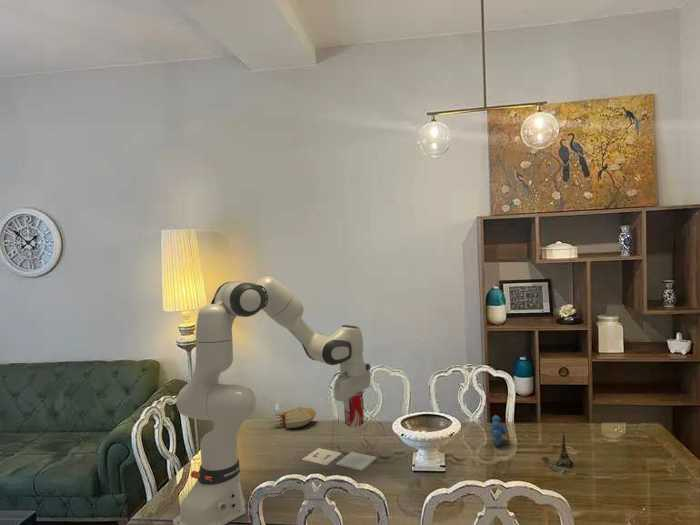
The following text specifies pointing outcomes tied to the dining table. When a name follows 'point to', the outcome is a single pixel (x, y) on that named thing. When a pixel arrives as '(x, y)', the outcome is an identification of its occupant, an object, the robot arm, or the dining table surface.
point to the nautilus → (296, 417)
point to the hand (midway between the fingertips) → (353, 406)
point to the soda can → (355, 411)
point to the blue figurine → (497, 430)
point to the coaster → (356, 461)
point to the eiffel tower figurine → (562, 461)
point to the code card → (322, 456)
